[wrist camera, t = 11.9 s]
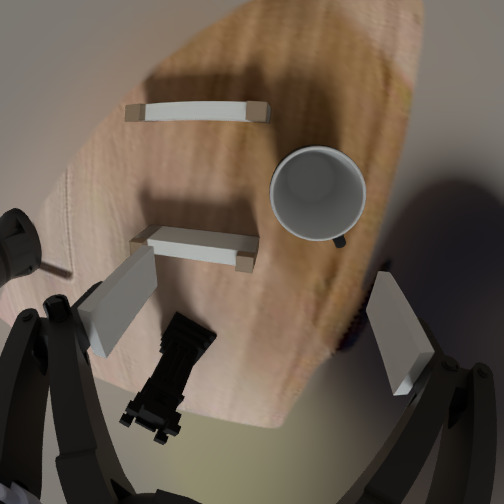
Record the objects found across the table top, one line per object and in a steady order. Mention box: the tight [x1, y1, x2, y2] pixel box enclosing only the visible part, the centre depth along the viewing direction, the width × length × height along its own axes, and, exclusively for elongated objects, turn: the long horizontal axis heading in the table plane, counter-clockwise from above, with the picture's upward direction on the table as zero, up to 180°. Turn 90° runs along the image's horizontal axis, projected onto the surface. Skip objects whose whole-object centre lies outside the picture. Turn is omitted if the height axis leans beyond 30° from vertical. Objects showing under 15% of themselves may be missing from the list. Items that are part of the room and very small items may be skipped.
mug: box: [269, 145, 366, 248], centre depth 29 cm, size 12×9×10 cm
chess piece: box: [119, 312, 217, 445], centre depth 38 cm, size 8×8×20 cm
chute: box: [125, 101, 271, 273], centre depth 32 cm, size 16×19×6 cm
